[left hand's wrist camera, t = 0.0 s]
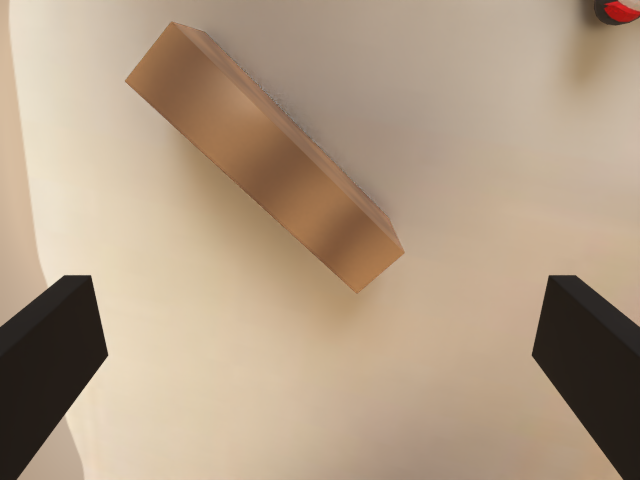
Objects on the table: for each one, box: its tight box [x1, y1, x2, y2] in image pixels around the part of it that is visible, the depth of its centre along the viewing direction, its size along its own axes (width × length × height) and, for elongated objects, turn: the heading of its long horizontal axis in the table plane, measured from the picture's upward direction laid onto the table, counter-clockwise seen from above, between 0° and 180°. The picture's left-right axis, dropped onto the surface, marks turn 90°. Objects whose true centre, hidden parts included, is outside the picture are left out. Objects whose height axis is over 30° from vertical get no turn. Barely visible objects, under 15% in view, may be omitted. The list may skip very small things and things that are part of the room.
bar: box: [125, 22, 404, 293], centre depth 35 cm, size 22×5×8 cm, turn 45°
